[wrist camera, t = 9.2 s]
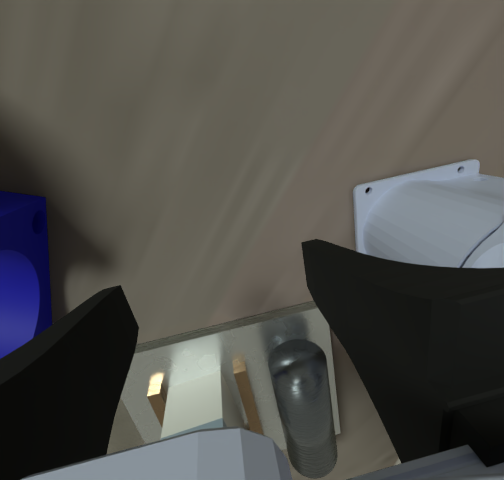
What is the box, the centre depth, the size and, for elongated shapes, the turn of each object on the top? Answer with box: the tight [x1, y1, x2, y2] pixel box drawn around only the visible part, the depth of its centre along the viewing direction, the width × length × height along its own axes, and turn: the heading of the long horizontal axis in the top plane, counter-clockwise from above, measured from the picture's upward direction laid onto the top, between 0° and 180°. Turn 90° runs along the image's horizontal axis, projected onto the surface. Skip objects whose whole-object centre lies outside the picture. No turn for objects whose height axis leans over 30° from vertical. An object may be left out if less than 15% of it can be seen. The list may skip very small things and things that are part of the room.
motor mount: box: [121, 301, 340, 478], centre depth 24 cm, size 18×16×5 cm
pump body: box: [161, 371, 245, 440], centre depth 23 cm, size 4×7×5 cm, turn 16°
